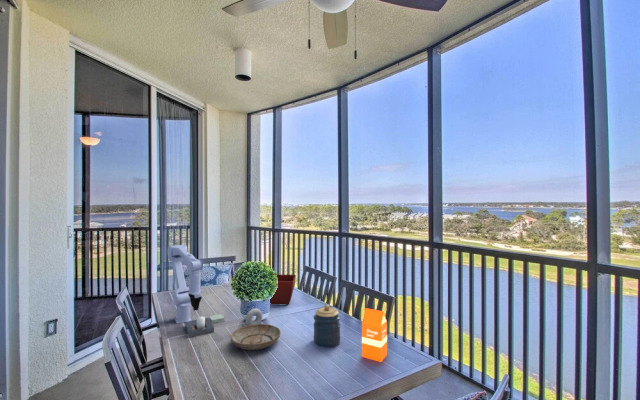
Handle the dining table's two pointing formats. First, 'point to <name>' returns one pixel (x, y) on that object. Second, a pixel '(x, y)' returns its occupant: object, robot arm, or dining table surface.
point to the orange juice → (374, 335)
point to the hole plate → (193, 330)
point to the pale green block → (216, 318)
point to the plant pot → (284, 289)
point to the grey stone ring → (251, 314)
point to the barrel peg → (200, 322)
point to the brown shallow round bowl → (255, 336)
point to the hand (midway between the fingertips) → (194, 308)
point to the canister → (326, 327)
